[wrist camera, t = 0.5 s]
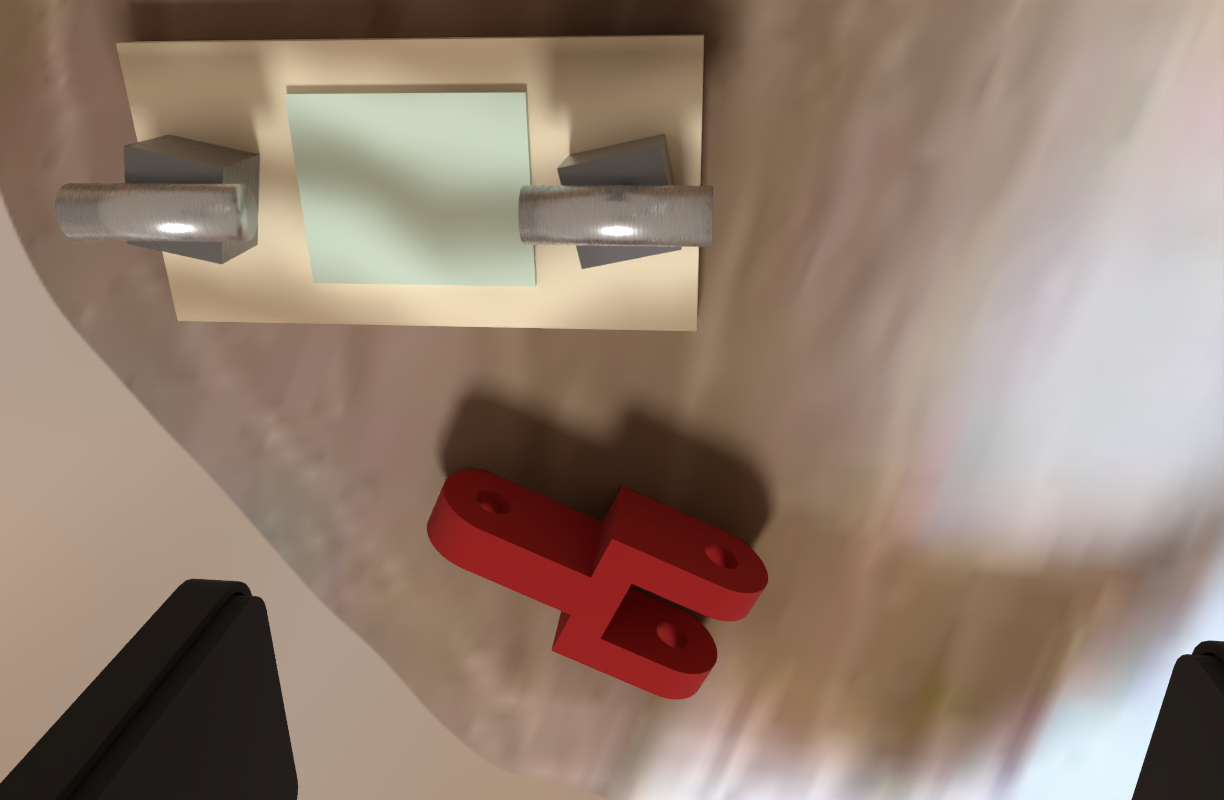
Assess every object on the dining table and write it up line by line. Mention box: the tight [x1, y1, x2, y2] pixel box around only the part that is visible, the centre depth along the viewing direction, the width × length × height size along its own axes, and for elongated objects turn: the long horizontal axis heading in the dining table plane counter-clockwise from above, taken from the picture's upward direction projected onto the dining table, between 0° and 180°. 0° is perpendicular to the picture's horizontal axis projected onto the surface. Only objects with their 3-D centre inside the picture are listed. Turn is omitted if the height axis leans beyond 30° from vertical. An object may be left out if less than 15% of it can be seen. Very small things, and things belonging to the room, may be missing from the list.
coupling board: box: [116, 34, 704, 331], centre depth 39 cm, size 12×24×2 cm, turn 91°
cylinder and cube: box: [55, 134, 713, 269], centre depth 36 cm, size 5×25×5 cm, turn 91°
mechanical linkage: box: [427, 469, 768, 699], centre depth 44 cm, size 16×7×5 cm, turn 66°
